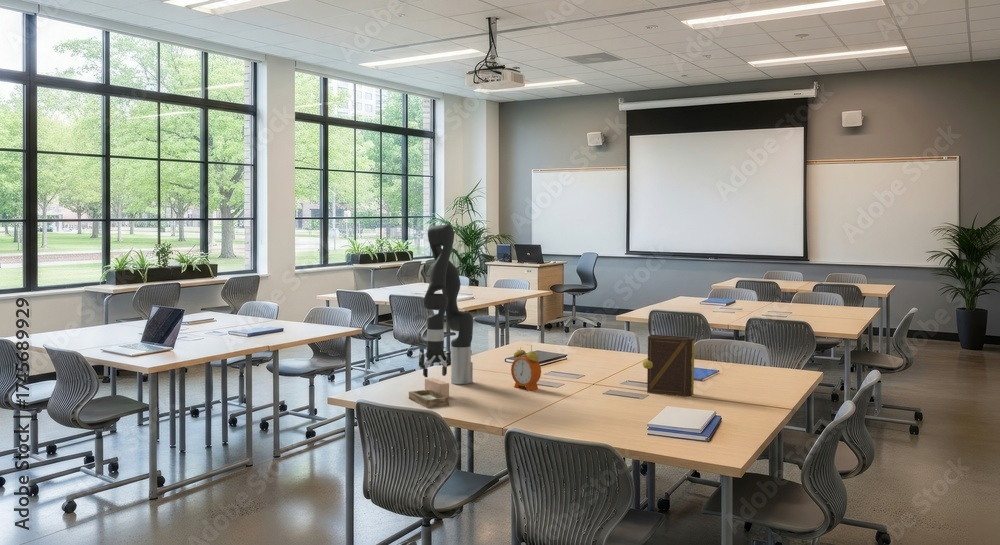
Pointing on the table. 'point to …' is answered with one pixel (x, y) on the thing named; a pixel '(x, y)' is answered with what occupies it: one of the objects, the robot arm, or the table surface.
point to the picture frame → (428, 398)
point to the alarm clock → (526, 369)
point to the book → (670, 365)
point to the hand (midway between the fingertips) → (434, 376)
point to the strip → (437, 386)
